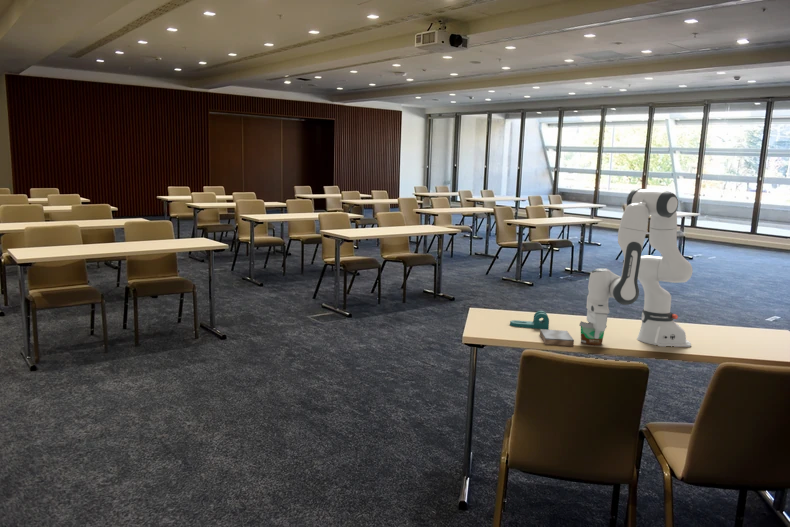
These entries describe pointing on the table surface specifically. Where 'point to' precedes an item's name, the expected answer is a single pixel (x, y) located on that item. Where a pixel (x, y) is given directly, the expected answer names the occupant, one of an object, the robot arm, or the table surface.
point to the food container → (590, 334)
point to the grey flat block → (556, 337)
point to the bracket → (535, 324)
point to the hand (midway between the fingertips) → (594, 336)
